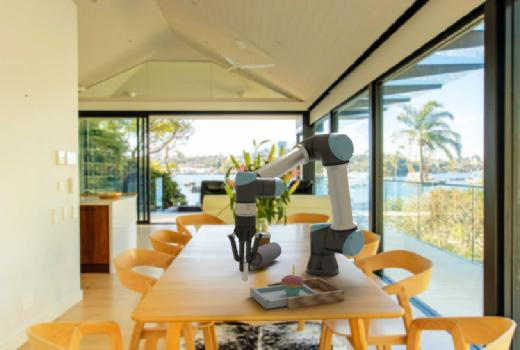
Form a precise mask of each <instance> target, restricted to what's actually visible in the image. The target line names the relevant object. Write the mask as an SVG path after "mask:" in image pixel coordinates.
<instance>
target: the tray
mask: <svg viewBox="0 0 520 350" xmlns="http://www.w3.org/2000/svg"><path fill="white" fill-rule="evenodd" d="M249 291H250V292H249V296H250V297H251V298H253V299H254V300H255V301H256V302H257V303H259V304H260V305H261V306H262V307H263V308H264V309H266V310H267V309H273V308H274V309H275V308H280V307H287V297H294V296H288V295H287V294H286V291H285V288H284V286H282V285H277V286H269V287H267V286H263V287H262V286H261V287H254V286H252V287H250V288H249ZM315 293H319V292H318V291H316V290H314V289H313V288H309V287H307V286H306V285H304V284H303V286H302V287H301V289H300V292H299V295H298V296H301V295H308V294H315Z"/></svg>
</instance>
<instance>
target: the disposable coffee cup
mask: <svg viewBox="0 0 520 350" xmlns="http://www.w3.org/2000/svg"><path fill="white" fill-rule="evenodd" d="M258 232H259V233H261V234H263V236H262V238H261V240H260V243H259V247H260V246H262V245H265V244H268V243H271V238H272V234H271V233H272V232H269V231H258Z"/></svg>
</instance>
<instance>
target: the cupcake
mask: <svg viewBox="0 0 520 350" xmlns="http://www.w3.org/2000/svg"><path fill="white" fill-rule="evenodd" d="M295 268H296V267H295V265H292V274H287V275H286V276H283V278H281V281H280V282H281V285H282V286H284V288H285V291H286V294H287V295H288V296H298V295H299V292H300V289H301V287H302V286H303V284H304V283H303V279H304V278H302V277H300V276H299V275H295V270H296V269H295Z"/></svg>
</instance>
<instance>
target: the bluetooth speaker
mask: <svg viewBox="0 0 520 350" xmlns="http://www.w3.org/2000/svg"><path fill="white" fill-rule="evenodd" d="M251 252H252V250H251ZM281 254H282V248H281V245H280V244H279V243H278V242H273V241H272V242H270V243H268V244H265V245H262V246H260V247H258V251H257V256H256V259H255V260H253V261H252V262H251V265H250V267H252V268H256V269H257V268H265V267H267V266H269V265H271V264H272V262H273V261H275V260H276V259H278V258H279V257H281Z"/></svg>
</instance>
